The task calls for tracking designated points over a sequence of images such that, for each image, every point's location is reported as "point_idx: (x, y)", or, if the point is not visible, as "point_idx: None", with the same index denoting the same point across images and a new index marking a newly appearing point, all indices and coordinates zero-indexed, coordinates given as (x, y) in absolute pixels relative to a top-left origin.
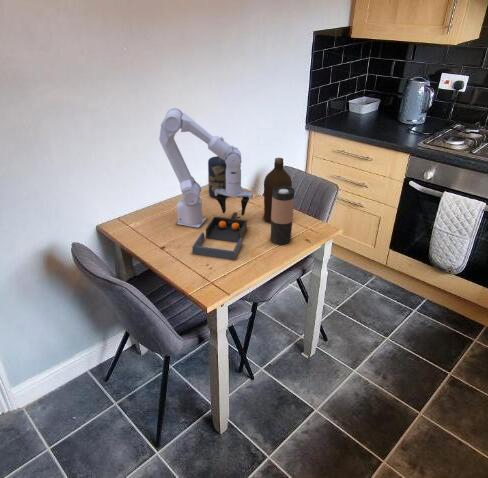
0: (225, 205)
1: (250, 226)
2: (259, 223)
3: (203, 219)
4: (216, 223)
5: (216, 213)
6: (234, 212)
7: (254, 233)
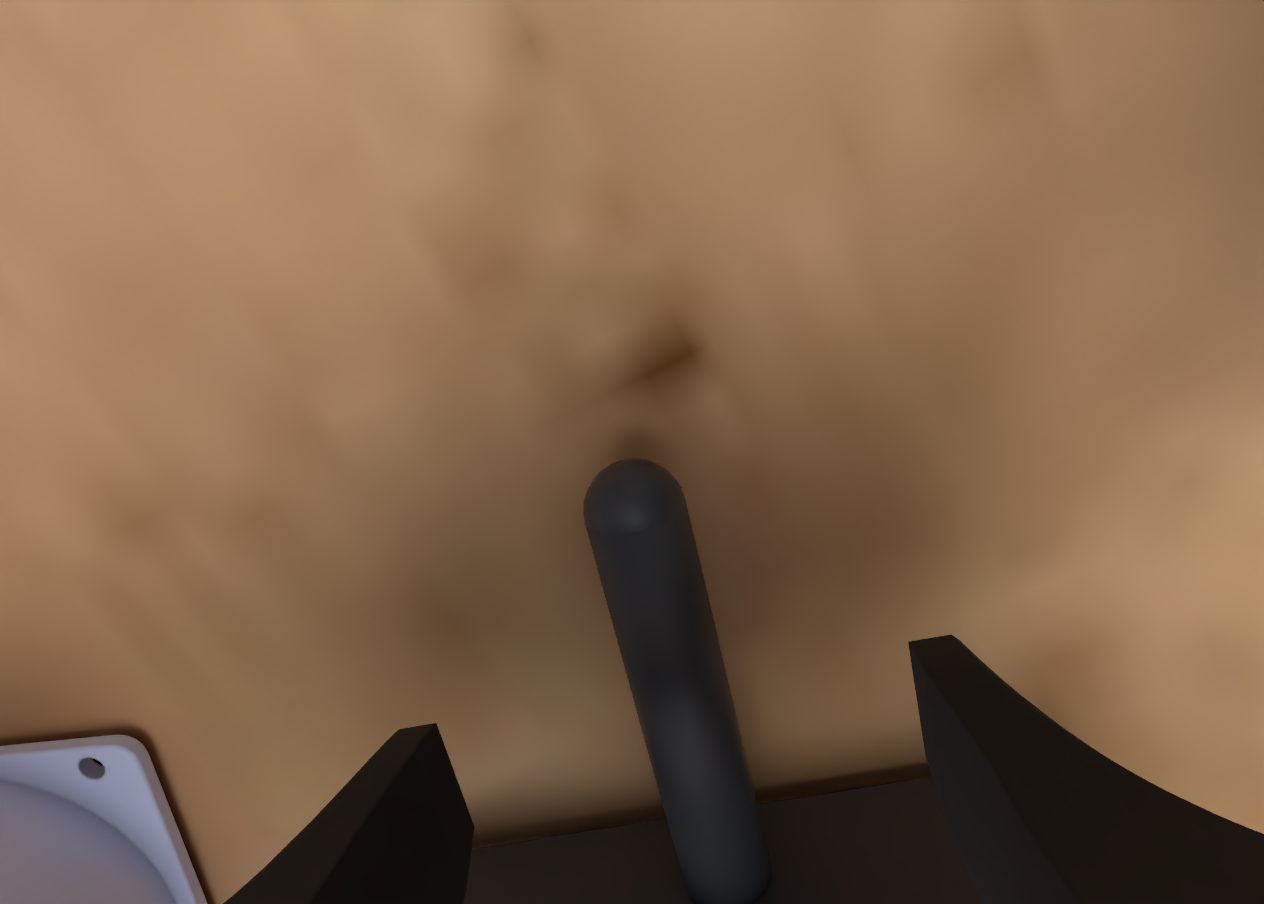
0: (378, 829)
1: (1083, 609)
2: (1244, 409)
3: (120, 806)
4: None
5: (118, 411)
6: (611, 538)
7: (1241, 802)
